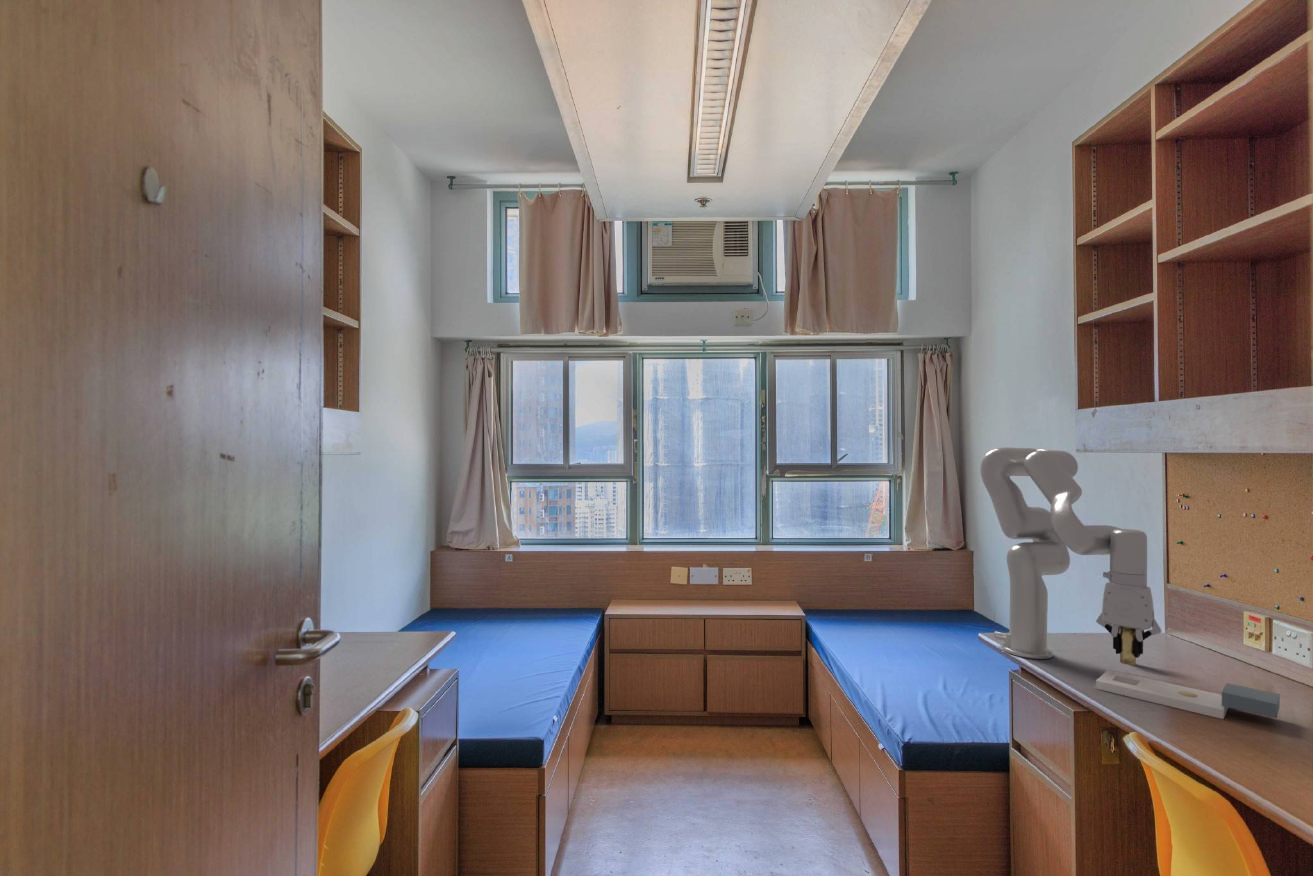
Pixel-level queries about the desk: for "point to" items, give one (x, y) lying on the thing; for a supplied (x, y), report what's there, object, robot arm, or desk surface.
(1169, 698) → the board
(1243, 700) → the housing
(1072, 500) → the robot arm
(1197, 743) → the desk surface
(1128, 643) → the pin
